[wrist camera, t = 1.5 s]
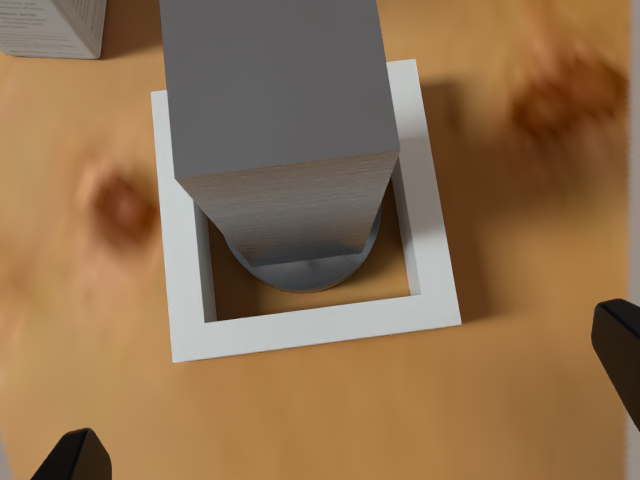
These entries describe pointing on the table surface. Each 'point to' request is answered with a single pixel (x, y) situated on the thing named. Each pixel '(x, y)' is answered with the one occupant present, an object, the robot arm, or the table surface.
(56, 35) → the skincare box
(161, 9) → the end cover
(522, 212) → the table surface
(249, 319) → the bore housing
